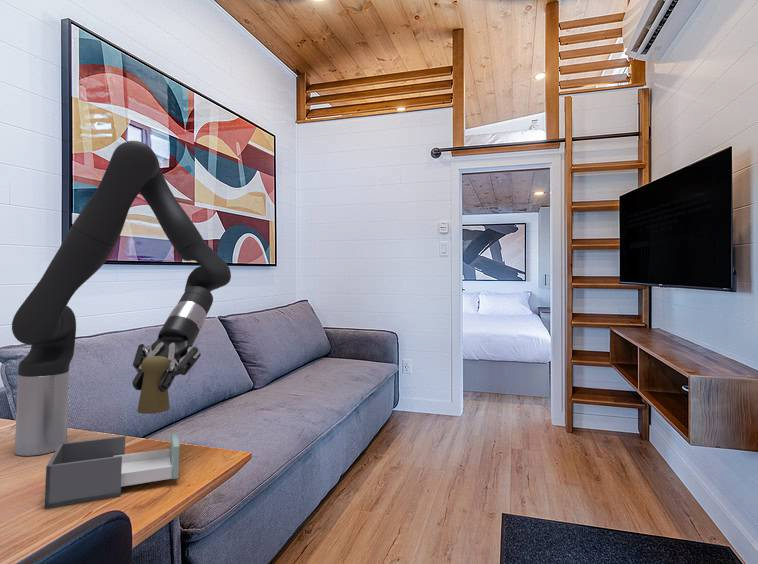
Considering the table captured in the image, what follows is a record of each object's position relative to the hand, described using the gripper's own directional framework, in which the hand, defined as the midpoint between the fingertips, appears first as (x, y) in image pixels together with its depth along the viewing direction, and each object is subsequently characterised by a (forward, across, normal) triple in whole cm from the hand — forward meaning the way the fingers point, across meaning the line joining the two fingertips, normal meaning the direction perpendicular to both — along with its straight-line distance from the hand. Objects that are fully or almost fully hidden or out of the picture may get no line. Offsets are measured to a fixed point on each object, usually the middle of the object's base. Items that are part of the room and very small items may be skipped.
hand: (148, 388), depth 88 cm
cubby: (+17, -5, +6) cm, 19 cm away
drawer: (+13, +2, +9) cm, 16 cm away
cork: (+2, 0, +5) cm, 5 cm away
